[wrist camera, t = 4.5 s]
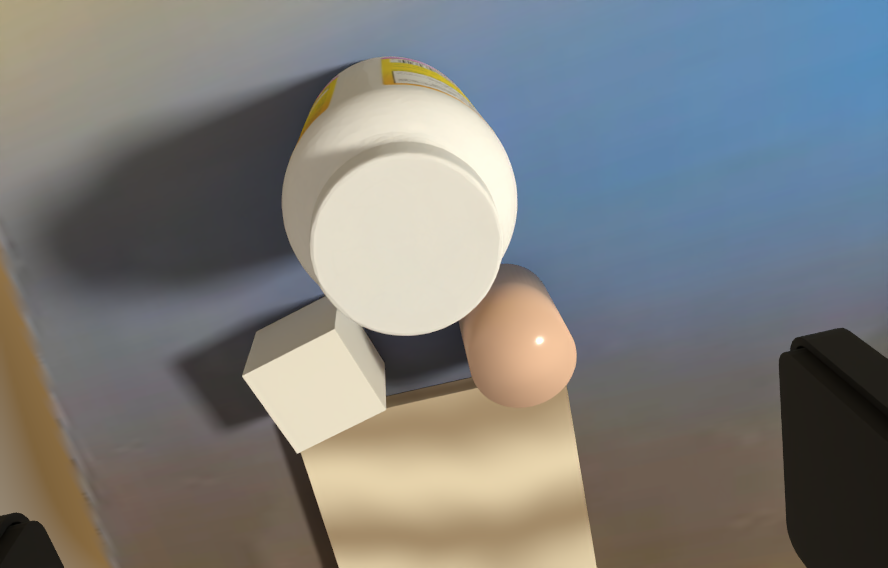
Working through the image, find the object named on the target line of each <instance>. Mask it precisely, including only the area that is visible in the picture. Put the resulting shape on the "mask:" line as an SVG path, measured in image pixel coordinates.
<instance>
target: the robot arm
mask: <svg viewBox="0 0 888 568" xmlns="http://www.w3.org/2000/svg"><path fill="white" fill-rule="evenodd" d="M779 378H780V399H781V419H782V440H783V461H784V481H785V502H786V523H787V530H788V534H789V537H790V540H791V543H792V545H793V547H794V549H795V551H796V553H797V554H798V556H799V558H800V559H801V560H802V562H803V563H804V564H805V566H806V567H807V568H888V359H887V358H886V357H884V356H883V355H882V354H880V353H879V352H877V351H876V350H875V349H873V348H872V347H871V346H869V345H868V344H867V343H865V342H864V341H862V340H861V339H860V338H858V337H857V336H856V335H854V334H853V333H852V332H850V331H849V330H847V329H844V328H837V329H833V330H828V331H824V332H819V333H815V334H810V335H806V336H801V337H797V338H795V339H794V340H793V341H792V344H791V347H790V351H788V352H784V353H782V354H781V356H780V359H779ZM0 568H64V566H63V564H62V562H61V560H60V558H59V556H58V554H57V552H56V550H55V548H54V546H53V544H52V542H51V540H50V538H49V536H48V534H47V532H46V530H45V528H44V527H43V525H42V524H40V523H39V522H38V521H29V519H28V518H27V517H25V516H24V515H23V514H21V513H11V514H7V515H2V516H0Z"/></svg>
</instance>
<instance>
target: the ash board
mask: <svg viewBox="0 0 888 568" xmlns="http://www.w3.org/2000/svg"><path fill="white" fill-rule="evenodd" d="M301 455H302V458H303V461H304V464H305V467H306V470H307V473H308V476H309V479H310V482H311V485H312V488H313V491H314V494H315V497H316V500H317V503H318V506H319V509H320V512H321V515H322V518H323V521H324V524H325V527H326V530H327V533H328V536H329V539H330V542H331V545H332V548H333V551H334V554H335V557H336V560H337V564H338V567H339V568H597V567H596V561H595V555H594V549H593V543H592V537H591V531H590V525H589V519H588V513H587V507H586V501H585V495H584V489H583V483H582V477H581V471H580V465H579V459H578V453H577V447H576V441H575V435H574V429H573V423H572V417H571V411H570V404H569V398H568V392H567V386H565V387H564V388H563V389H562V390H561V391H560V392H559V393H558V394H557V395H555V396H554V397H553V398H551V399H549V400H548V401H546V402H544V403H541V404H539V405H535V406H532V407H526V408H512V407H507V406H503V405H500V404H497V403H495V402H493V401H491V400H490V399H488V398H487V397H486V396H484V395H483V394H482V393H481V392H480V390H479V389H478V388H477V386H476V385H475V383H474V381H473V378H472V377H471V378H467V379H463V380H458V381H454V382H449V383H445V384H440V385H436V386H431V387H427V388H422V389H418V390H413V391H409V392H404V393H400V394H395V395H391V396H386V410H385V411H383V412H381V413H379V414H377V415H375V416H373V417H371V418H369V419H367V420H365V421H363V422H361V423H359V424H357V425H355V426H353V427H351V428H349V429H346V430H344V431H342V432H340V433H338V434H336V435H334V436H332V437H330V438H328V439H326V440H324V441H322V442H320V443H318V444H316V445H314V446H312V447H310V448H308V449H306V450H304V451H302V452H301Z"/></svg>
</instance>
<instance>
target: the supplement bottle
mask: <svg viewBox="0 0 888 568" xmlns="http://www.w3.org/2000/svg"><path fill="white" fill-rule="evenodd" d="M282 212H283V220H284V226H285V230H286V233H287V237H288V239H289V242H290V245H291V247H292V249H293V251H294V253H295V255H296V256H297V258H298V260H299V262H300V263H301V265H302V266H303V268H304V269H305V270H306V272H307V273H308V274H309V275H310V277H311V278H312V279H313V280H314V281H315V282H316V283H317V284H318V285H319V286H320V288H321V290H322V291H323V293H324V294H325V296H326V297H327V298H328V300H329V301H330V302H331V303H332V304H333V305H334V306H335V307H336V308H337V309H338V310H339V311H340V312H341V313H342V314H344V315H345V316H346V317H348V318H349V319H350V320H352V321H353V322H355V323H357V324H359V325H361V326H363V327H365V328H367V329H370V330H373V331H376V332H380V333H384V334H389V335H398V336H413V335H421V334H426V333H431V332H434V331H437V330H440V329H443V328H445V327H447V326H449V325H451V324H453V323H455V322H457V321H458V320H460V319H462V318H463V317H465V316H466V315H467V314H468V313H470V312H471V311H472V310H473V309H474V308H475V307H476V306H477V305H478V304H479V303H480V302H481V301H482V299H483V298H484V297H485V296H486V294H487V293H488V291H489V290H490V288H491V286H492V284H493V282H494V280H495V278H496V276H497V273H498V270H499V267H500V262H501V259H502V257H503V256H504V254H505V252H506V250H507V247H508V245H509V243H510V240H511V237H512V234H513V230H514V226H515V221H516V215H517V189H516V182H515V177H514V174H513V170H512V167H511V164H510V161H509V158H508V156H507V154H506V152H505V149H504V148H503V146H502V144H501V142H500V141H499V139H498V138H497V136H496V134H495V133H494V131H493V130H492V129H491V127H490V126H489V125H488V124H487V122H486V121H485V120H484V119H483V118H482V116H481V115H480V114H479V113H478V111H477V110H476V109H475V108H474V106H473V105H472V104H471V103H470V101H469V100H468V99H467V98H466V96H465V95H464V94H463V93H462V91H461V90H460V89H459V88H458V87H457V86H456V85H455V84H454V83H453V82H452V81H451V80H450V79H449V78H447V77H446V76H445V75H444V74H442V73H441V72H439V71H438V70H436V69H435V68H433V67H431V66H429V65H427V64H425V63H422V62H420V61H416V60H413V59H409V58H403V57H391V56H390V57H378V58H372V59H368V60H365V61H361V62H359V63H357V64H354V65H352V66H350V67H348V68H347V69H345V70H344V71H342V72H341V73H339V74H338V75H337V76H335V77H334V78H333V79H332V80H331V81H330V82H329V83H328V84H327V85H326V86H325V88H324V89H323V90H322V92H321V93H320V94H319V96H318V97H317V99H316V101H315V102H314V104H313V106H312V108H311V110H310V113H309V115H308V117H307V120H306V122H305V125H304V127H303V130H302V132H301V135H300V137H299V140H298V142H297V144H296V146H295V148H294V151H293V153H292V155H291V158H290V161H289V164H288V167H287V170H286V173H285V178H284V183H283V190H282Z"/></svg>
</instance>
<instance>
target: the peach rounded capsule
mask: <svg viewBox="0 0 888 568" xmlns="http://www.w3.org/2000/svg"><path fill="white" fill-rule="evenodd" d="M458 322H459V326H460V330H461V334H462V338H463V342H464V347H465V351H466V355H467V359H468V363H469V367H470V371H471V375H472V378H473V381H474V383H475V385H476V386H477V388H478V389H479V390H480V392H481V393H482V394H483V395H484V396H486V397H487V398H488V399H490V400H491V401H493V402H495V403H497V404H500V405H503V406H507V407H512V408H526V407H532V406H535V405H539V404H541V403H544V402H546V401H548V400H549V399H551V398H553V397H554V396H555V395H557V394H558V393H559V392H560V391H561V390H562V389H563V388H564V387H565V386H566V385H567V383H568V382H569V380H570V378H571V376H572V374H573V372H574V369H575V365H576V356H577V355H576V347H575V343H574V341H573V338H572V336H571V334H570V332H569V331H568V329H567V327H566V325H565V323H564V321H563V319H562V318H561V316H560V314H559V312H558V310H557V308H556V307H555V305H554V303H553V301H552V299H551V297H550V295H549V294H548V292H547V290H546V288H545V286H544V285H543V283H542V281H541V280H540V279H539V278H538V277H537V276H536V275H535V274H534V273H533V272H531V271H530V270H528V269H526V268H524V267H521V266H518V265H514V264H500V267H499V270H498V273H497V276H496V278H495V280H494V282H493V284H492V286H491V288H490V290H489V291H488V293H487V294H486V296H485V297H484V298H483V299H482V301H481V302H480V303H479V304H478V305H477V306H476V307H475V308H474V309H473V310H472V311H471V312H470V313H468V314H467V315H466V316H465V317H463V318H462V319H460V320H458Z"/></svg>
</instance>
